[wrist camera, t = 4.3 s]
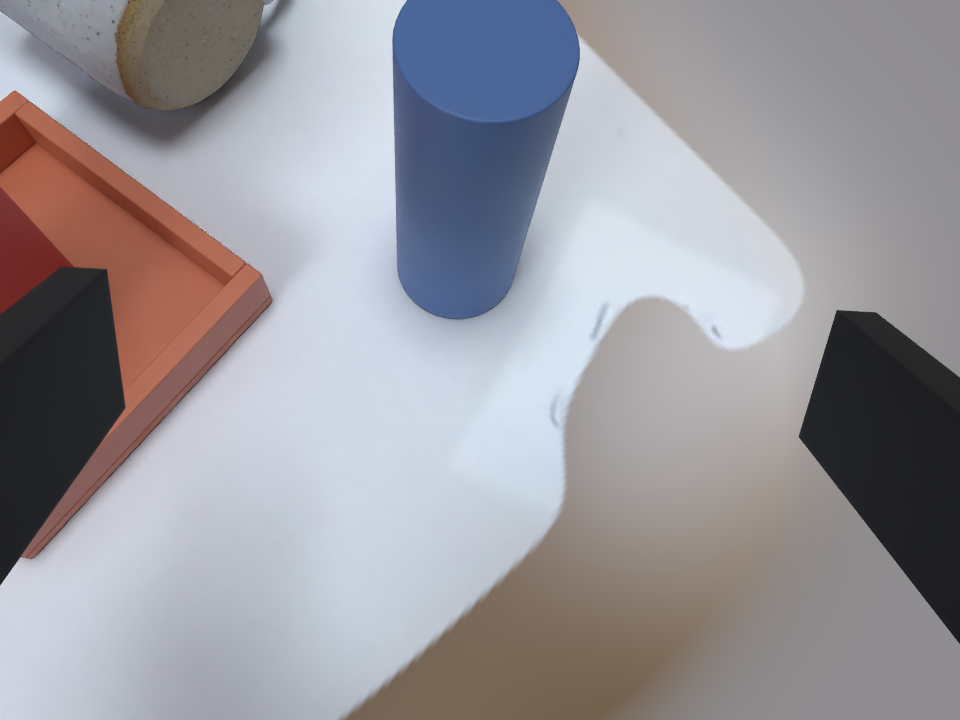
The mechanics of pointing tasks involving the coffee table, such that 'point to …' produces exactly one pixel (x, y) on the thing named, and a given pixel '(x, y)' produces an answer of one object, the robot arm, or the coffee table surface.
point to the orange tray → (127, 279)
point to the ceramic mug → (147, 43)
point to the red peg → (23, 253)
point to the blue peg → (473, 141)
